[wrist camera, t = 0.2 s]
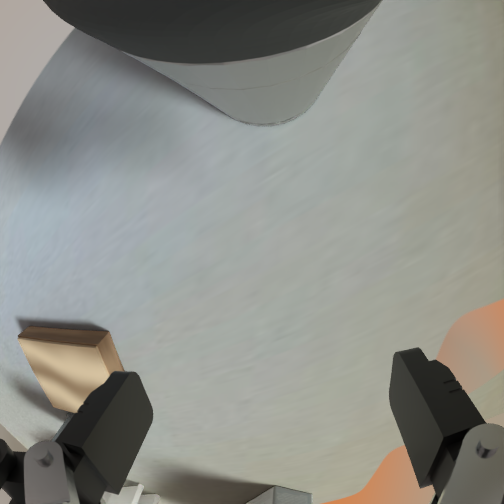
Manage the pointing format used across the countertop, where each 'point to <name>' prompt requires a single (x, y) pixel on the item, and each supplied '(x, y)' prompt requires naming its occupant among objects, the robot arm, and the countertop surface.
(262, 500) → the hard drive box
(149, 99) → the countertop surface
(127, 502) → the white open-top bins
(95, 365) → the stand
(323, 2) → the robot arm
